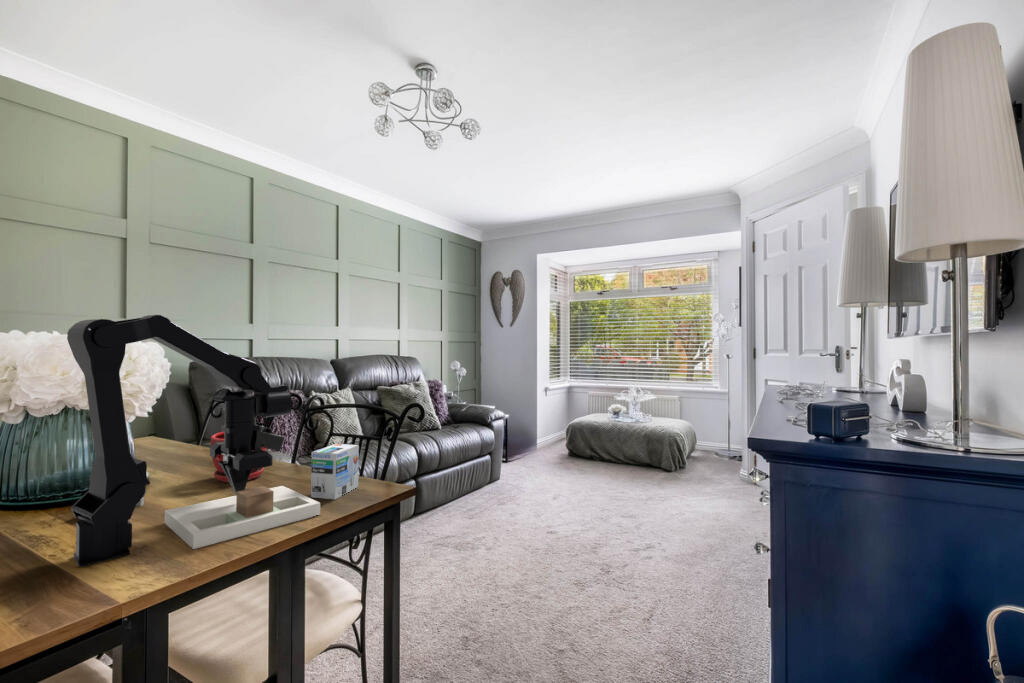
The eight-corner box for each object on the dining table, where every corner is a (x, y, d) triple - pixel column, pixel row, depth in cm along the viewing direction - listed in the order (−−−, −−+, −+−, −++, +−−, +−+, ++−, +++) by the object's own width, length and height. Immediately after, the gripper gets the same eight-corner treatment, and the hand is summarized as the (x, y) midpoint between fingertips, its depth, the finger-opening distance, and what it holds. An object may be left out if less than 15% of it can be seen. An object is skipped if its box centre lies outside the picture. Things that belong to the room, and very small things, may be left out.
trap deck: (193, 549, 83) (193, 534, 83) (164, 523, 95) (164, 510, 95) (320, 514, 101) (320, 502, 101) (282, 496, 112) (282, 485, 112)
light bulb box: (335, 500, 110) (336, 453, 110) (309, 498, 111) (310, 451, 112) (359, 487, 121) (360, 444, 121) (335, 485, 122) (335, 442, 122)
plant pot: (202, 478, 127) (203, 433, 127) (255, 469, 137) (256, 427, 137) (220, 488, 118) (220, 439, 118) (275, 477, 128) (275, 432, 128)
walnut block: (246, 517, 91) (246, 496, 92) (236, 511, 95) (236, 491, 95) (273, 511, 95) (273, 491, 95) (262, 505, 99) (263, 486, 99)
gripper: (298, 421, 100) (297, 496, 100) (263, 412, 112) (262, 479, 112) (240, 428, 92) (239, 509, 91) (209, 417, 104) (208, 489, 104)
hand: (239, 495), depth 100 cm, fingers closed
